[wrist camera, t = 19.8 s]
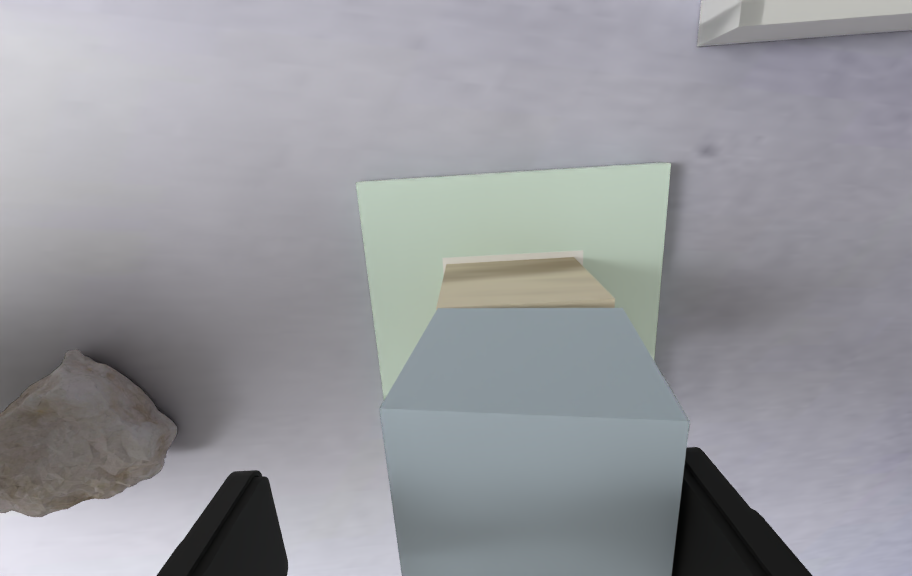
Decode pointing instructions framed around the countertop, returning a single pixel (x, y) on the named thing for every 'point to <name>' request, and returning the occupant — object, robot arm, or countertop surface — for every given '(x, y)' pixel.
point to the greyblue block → (534, 447)
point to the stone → (78, 438)
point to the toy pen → (797, 19)
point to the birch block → (522, 285)
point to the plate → (510, 239)
